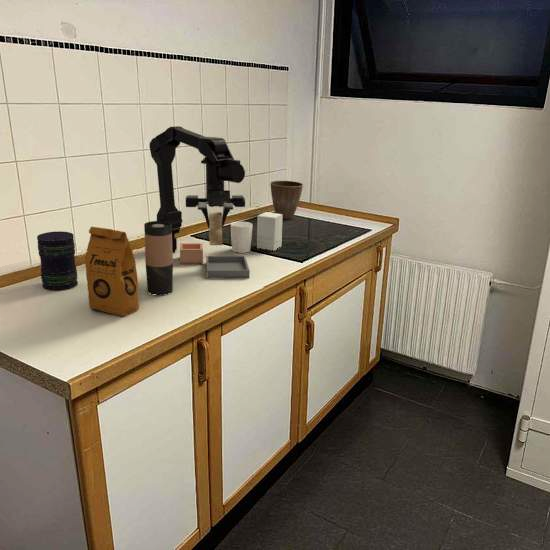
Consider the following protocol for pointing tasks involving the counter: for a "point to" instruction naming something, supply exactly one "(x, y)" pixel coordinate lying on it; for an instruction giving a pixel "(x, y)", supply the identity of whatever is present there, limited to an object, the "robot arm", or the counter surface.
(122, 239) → the coffee package
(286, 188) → the plant pot
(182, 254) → the pink open box
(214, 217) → the wooden peg
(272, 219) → the supplement box
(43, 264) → the storage jar
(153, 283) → the travel mug
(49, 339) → the counter surface
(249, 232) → the white cup
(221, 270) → the charcoal tray
